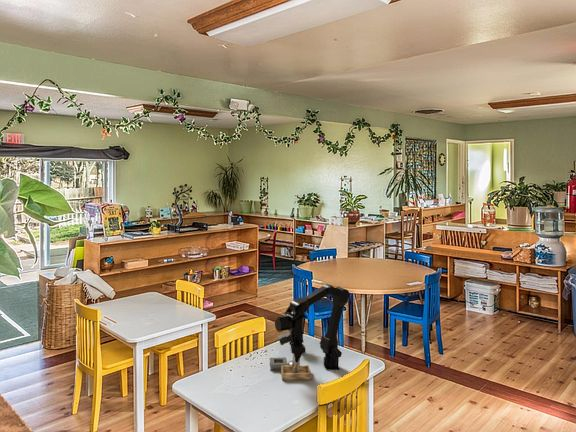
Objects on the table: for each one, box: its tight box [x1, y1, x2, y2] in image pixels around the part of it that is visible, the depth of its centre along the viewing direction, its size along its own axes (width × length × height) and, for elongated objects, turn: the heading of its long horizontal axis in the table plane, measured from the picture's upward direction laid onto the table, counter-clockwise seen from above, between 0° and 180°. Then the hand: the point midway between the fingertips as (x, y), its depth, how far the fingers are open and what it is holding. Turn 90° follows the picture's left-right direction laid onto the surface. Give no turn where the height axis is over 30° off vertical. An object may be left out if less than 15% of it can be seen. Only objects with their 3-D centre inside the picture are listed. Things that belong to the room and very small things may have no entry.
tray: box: [280, 364, 312, 382], centre depth 206 cm, size 13×9×3 cm
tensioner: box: [269, 357, 292, 372], centre depth 215 cm, size 14×8×3 cm, turn 95°
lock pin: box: [291, 353, 301, 372], centre depth 205 cm, size 4×4×10 cm
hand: (296, 360), depth 205 cm, fingers closed on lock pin, 3 cm apart
